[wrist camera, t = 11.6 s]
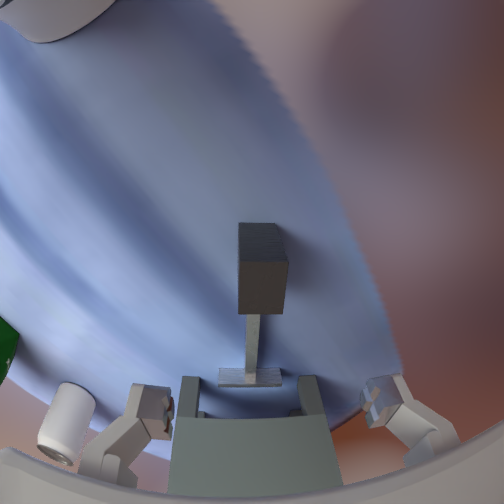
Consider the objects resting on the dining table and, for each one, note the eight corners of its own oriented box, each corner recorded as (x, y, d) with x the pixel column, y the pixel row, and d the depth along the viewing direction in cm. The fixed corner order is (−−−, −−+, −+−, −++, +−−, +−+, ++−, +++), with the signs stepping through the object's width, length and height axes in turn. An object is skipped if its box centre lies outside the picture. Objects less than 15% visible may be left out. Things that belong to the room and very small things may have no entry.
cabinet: (177, 373, 31) (155, 544, 12) (319, 372, 32) (362, 533, 13) (188, 420, 36) (179, 551, 17) (304, 418, 37) (328, 545, 18)
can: (93, 411, 36) (75, 471, 25) (59, 393, 34) (35, 450, 23) (99, 394, 34) (77, 461, 23) (61, 374, 32) (32, 438, 21)
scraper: (214, 222, 24) (206, 260, 17) (298, 224, 24) (319, 262, 18) (219, 371, 31) (217, 420, 25) (279, 371, 32) (286, 419, 25)
